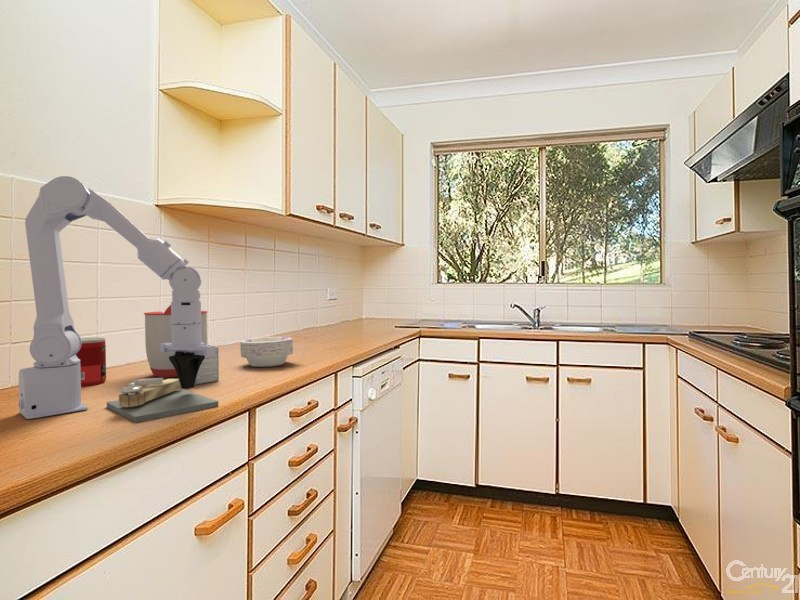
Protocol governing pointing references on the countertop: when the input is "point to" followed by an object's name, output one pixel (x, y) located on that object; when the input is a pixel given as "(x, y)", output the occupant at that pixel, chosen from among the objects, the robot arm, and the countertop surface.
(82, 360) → the canned food
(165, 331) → the citrus juicer
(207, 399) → the base plate
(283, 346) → the grey stone bowl
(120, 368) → the countertop surface
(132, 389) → the pintle
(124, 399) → the link
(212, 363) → the medicine box
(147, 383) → the keeper
